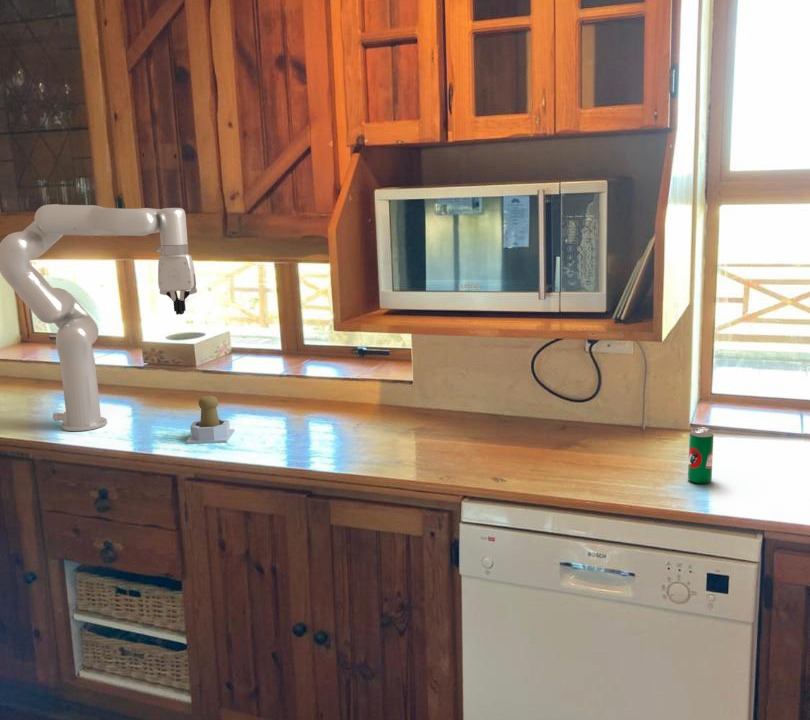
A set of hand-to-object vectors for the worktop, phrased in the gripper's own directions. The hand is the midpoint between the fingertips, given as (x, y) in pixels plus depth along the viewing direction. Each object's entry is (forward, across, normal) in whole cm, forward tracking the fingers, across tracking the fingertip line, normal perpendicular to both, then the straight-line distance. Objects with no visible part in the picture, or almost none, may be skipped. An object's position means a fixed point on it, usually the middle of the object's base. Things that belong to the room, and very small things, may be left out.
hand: (180, 313), depth 252 cm
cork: (+32, +11, -20) cm, 39 cm away
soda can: (+32, +131, -67) cm, 151 cm away
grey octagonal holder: (+32, +11, -20) cm, 39 cm away
